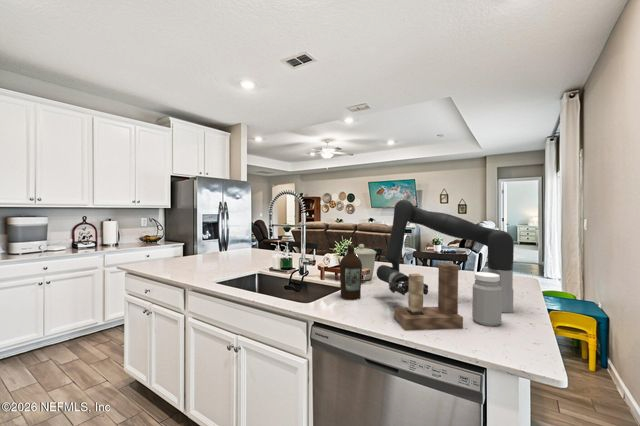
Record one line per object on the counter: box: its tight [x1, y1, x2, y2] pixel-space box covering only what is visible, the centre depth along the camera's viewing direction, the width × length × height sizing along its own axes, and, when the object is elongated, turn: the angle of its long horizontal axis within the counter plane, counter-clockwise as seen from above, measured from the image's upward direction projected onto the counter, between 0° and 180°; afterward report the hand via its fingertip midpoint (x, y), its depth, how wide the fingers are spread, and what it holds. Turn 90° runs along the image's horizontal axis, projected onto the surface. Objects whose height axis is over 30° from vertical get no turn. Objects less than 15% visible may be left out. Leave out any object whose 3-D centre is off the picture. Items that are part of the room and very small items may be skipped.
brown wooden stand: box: [393, 262, 464, 331], centre depth 114 cm, size 22×12×22 cm, turn 95°
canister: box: [354, 243, 377, 281], centre depth 187 cm, size 18×18×21 cm
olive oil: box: [339, 244, 362, 301], centre depth 148 cm, size 11×11×25 cm
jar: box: [471, 271, 503, 327], centre depth 116 cm, size 10×10×18 cm
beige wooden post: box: [407, 273, 425, 315], centre depth 114 cm, size 4×4×18 cm
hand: (415, 292), depth 114 cm, fingers open, 8 cm apart
